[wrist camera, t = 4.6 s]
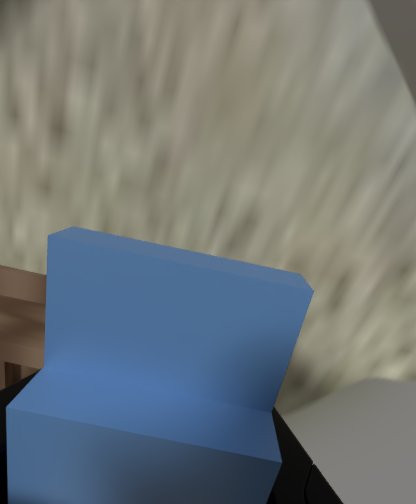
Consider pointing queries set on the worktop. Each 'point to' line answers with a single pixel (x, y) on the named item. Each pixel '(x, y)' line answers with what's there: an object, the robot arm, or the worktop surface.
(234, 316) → the block
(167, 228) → the worktop surface
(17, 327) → the cradle
